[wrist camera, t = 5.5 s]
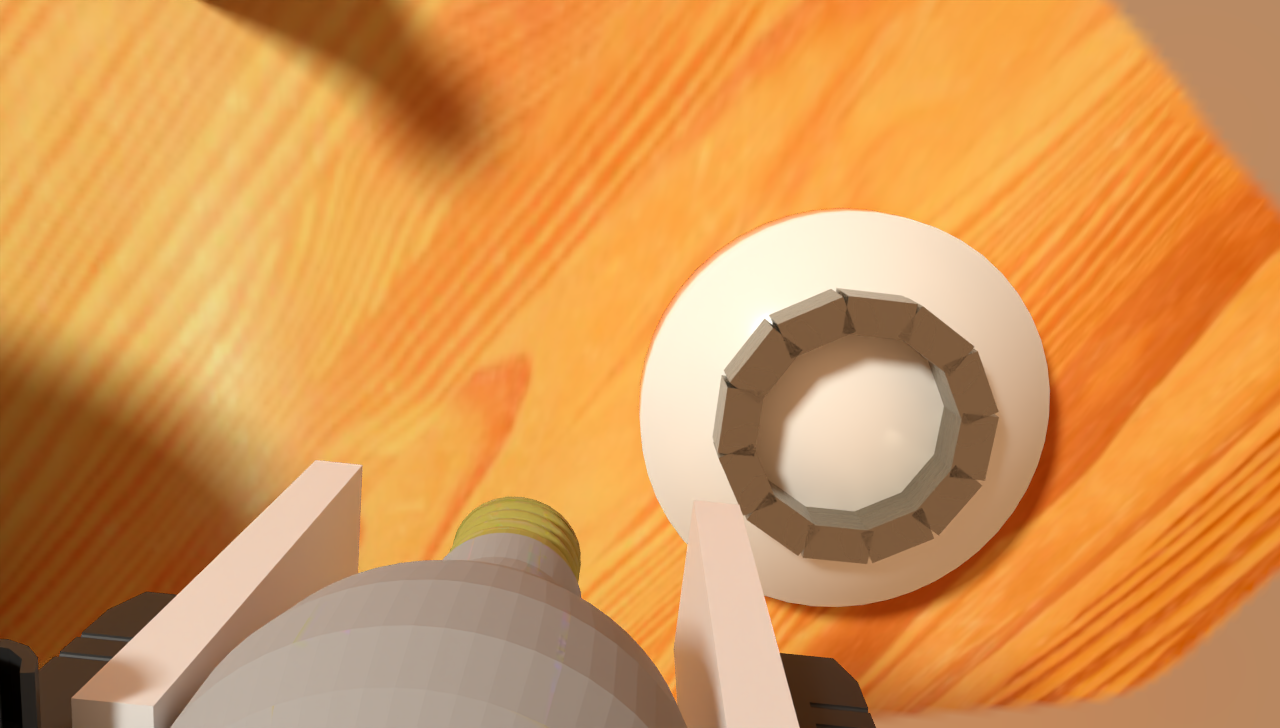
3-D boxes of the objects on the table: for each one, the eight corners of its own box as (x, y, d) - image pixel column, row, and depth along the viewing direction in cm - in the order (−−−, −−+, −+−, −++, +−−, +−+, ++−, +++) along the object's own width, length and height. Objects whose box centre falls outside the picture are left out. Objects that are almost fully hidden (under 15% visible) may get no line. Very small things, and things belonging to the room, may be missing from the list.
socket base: (617, 562, 34) (618, 587, 32) (665, 184, 31) (668, 187, 29) (980, 597, 35) (1002, 624, 33) (1063, 233, 32) (1092, 239, 30)
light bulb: (658, 693, 17) (685, 1473, 7) (358, 658, 16) (-51, 1406, 7) (703, 408, 15) (811, 867, 6) (378, 367, 15) (-92, 765, 5)
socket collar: (699, 528, 32) (703, 547, 30) (735, 276, 30) (742, 283, 28) (947, 552, 32) (964, 573, 31) (1000, 307, 30) (1021, 316, 29)
